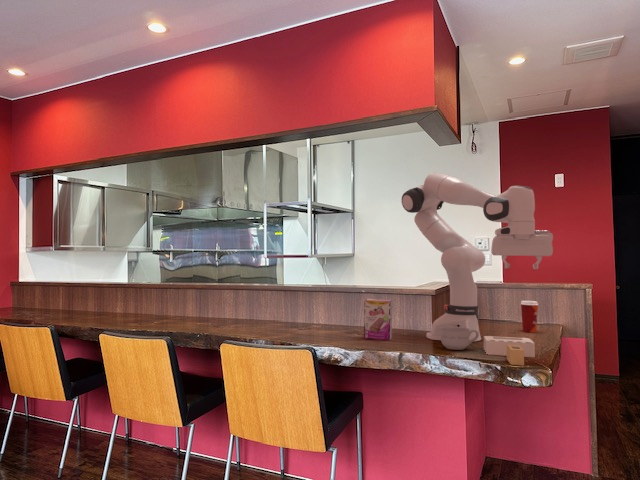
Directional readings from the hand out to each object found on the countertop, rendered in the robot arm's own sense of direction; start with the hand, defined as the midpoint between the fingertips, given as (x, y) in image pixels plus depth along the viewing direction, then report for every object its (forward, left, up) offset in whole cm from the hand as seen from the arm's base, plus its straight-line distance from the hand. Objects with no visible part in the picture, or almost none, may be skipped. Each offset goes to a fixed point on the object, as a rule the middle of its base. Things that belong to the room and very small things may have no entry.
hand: (521, 268), depth 161 cm
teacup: (-21, +5, -31) cm, 38 cm away
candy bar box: (-53, +15, -31) cm, 63 cm away
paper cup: (+13, +52, -31) cm, 62 cm away
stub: (-4, -11, -31) cm, 33 cm away
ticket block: (-4, +3, -31) cm, 31 cm away
